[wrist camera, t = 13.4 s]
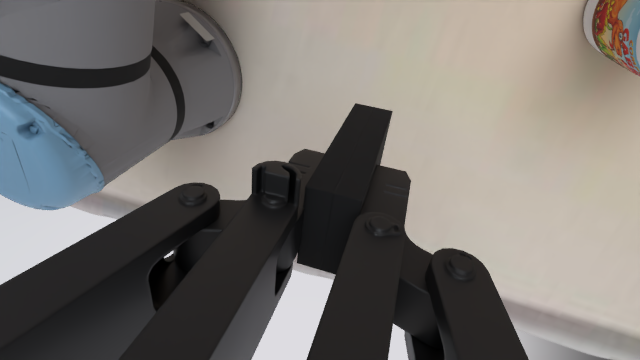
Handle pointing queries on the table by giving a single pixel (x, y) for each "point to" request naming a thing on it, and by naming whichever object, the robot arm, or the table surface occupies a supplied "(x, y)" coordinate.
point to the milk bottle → (615, 30)
